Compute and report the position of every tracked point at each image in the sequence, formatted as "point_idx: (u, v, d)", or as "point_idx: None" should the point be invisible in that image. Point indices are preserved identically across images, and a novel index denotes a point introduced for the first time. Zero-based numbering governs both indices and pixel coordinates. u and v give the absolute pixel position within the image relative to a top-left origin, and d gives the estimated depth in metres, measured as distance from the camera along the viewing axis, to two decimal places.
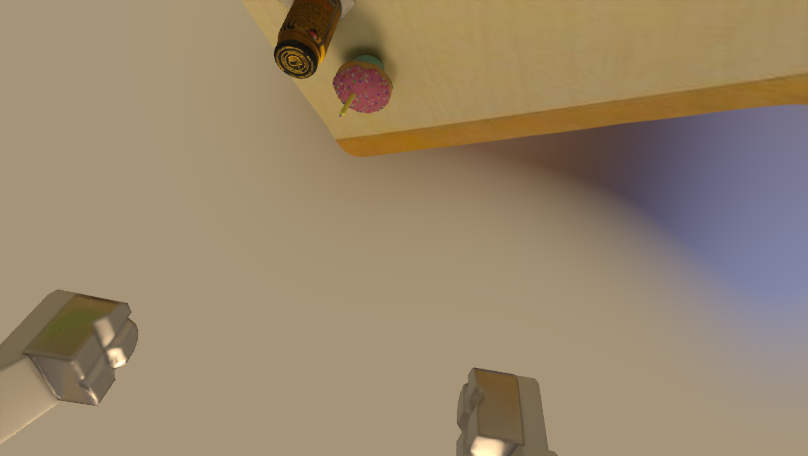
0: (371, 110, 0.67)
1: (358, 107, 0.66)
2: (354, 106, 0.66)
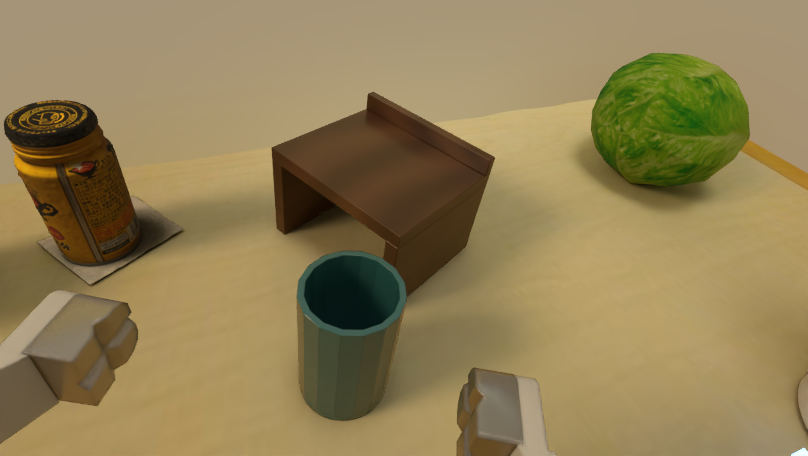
0: None
1: None
2: None
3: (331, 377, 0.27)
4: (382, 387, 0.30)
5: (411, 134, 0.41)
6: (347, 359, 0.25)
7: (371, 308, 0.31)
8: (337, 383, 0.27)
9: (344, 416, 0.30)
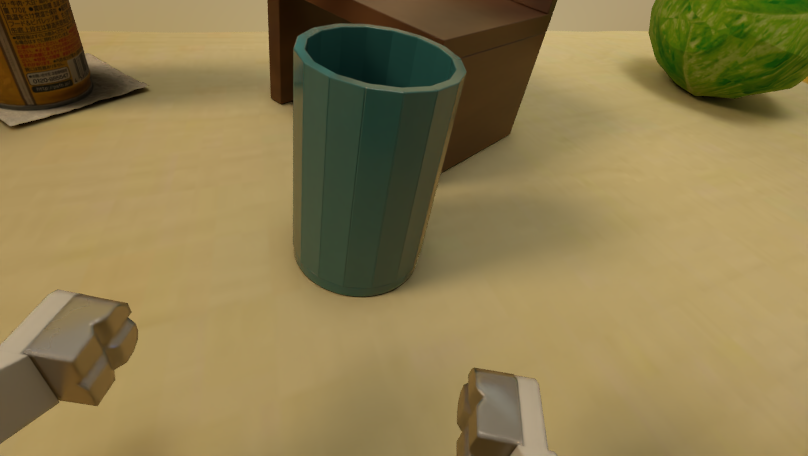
0: None
1: None
2: None
3: (344, 199, 0.17)
4: (415, 247, 0.20)
5: None
6: (372, 153, 0.16)
7: None
8: (352, 212, 0.17)
9: (359, 288, 0.20)
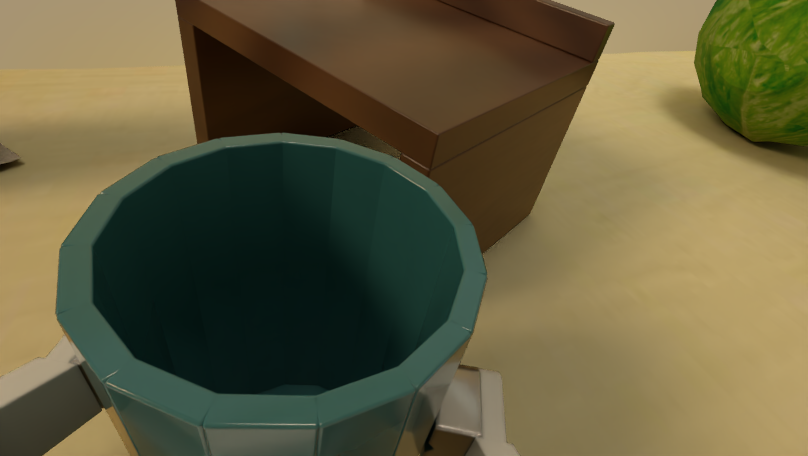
0: None
1: None
2: None
3: None
4: None
5: (445, 4, 0.23)
6: None
7: (362, 311, 0.12)
8: None
9: None
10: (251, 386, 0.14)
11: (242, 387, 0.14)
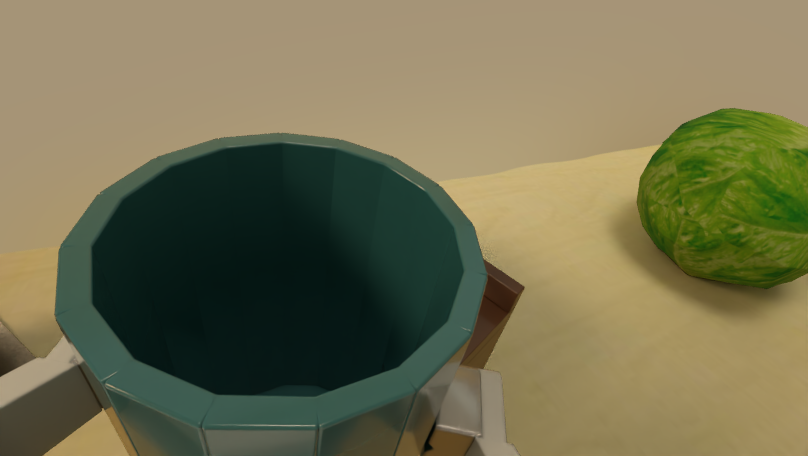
0: None
1: None
2: None
3: None
4: None
5: None
6: None
7: (362, 311, 0.12)
8: None
9: None
10: (251, 386, 0.14)
11: (242, 387, 0.14)
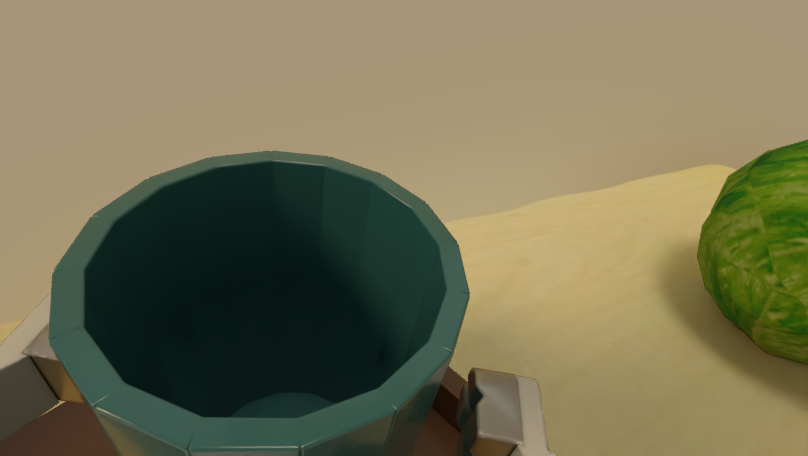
0: None
1: None
2: None
3: None
4: None
5: None
6: None
7: (353, 322, 0.12)
8: None
9: None
10: (246, 394, 0.14)
11: (237, 395, 0.14)
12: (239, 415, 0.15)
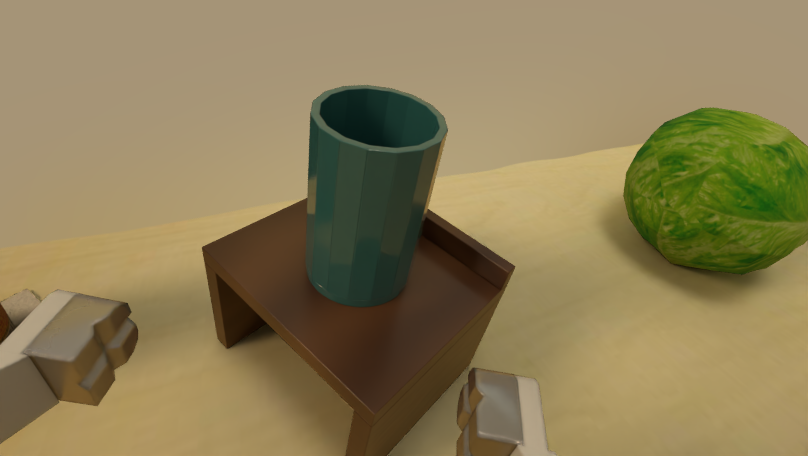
0: None
1: None
2: None
3: (350, 230, 0.21)
4: (408, 266, 0.24)
5: None
6: (372, 196, 0.20)
7: None
8: (356, 240, 0.21)
9: (361, 300, 0.24)
10: None
11: None
12: None
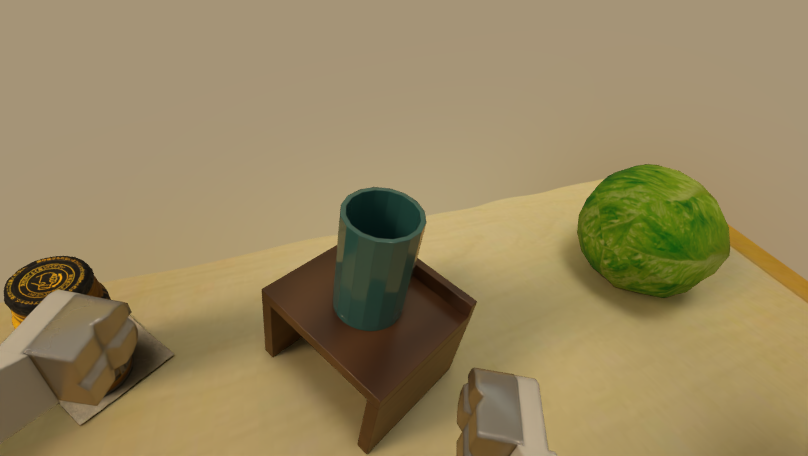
0: None
1: None
2: None
3: (364, 285, 0.33)
4: (402, 304, 0.36)
5: None
6: (379, 266, 0.32)
7: None
8: (368, 290, 0.33)
9: (370, 326, 0.36)
10: None
11: None
12: None
